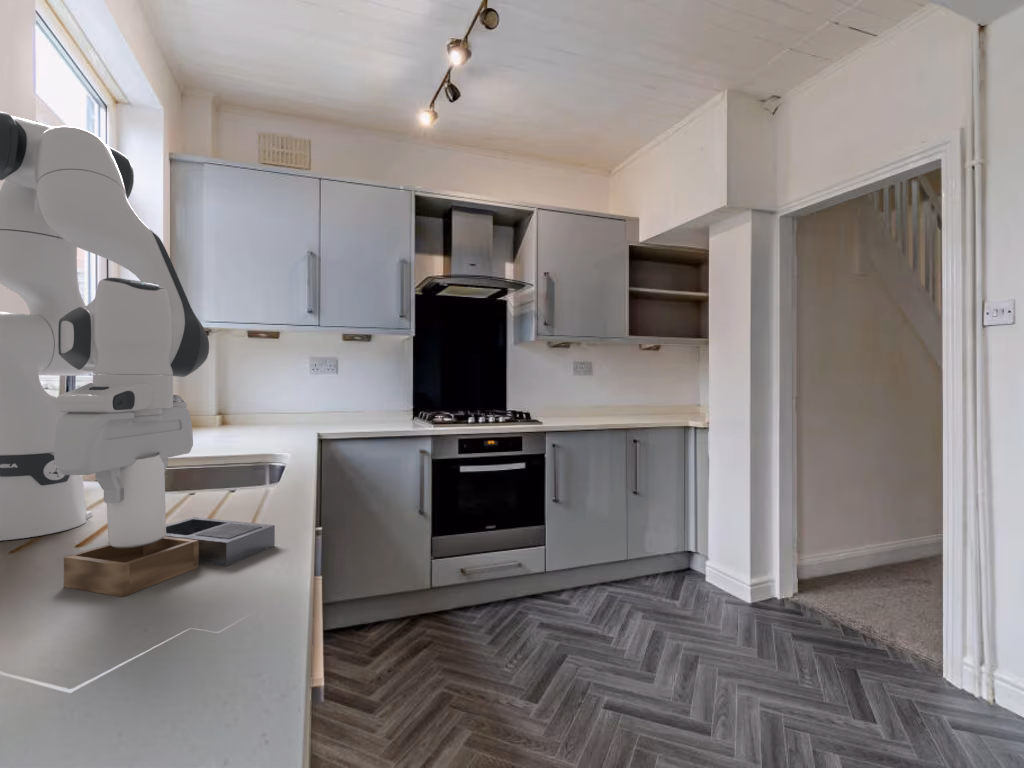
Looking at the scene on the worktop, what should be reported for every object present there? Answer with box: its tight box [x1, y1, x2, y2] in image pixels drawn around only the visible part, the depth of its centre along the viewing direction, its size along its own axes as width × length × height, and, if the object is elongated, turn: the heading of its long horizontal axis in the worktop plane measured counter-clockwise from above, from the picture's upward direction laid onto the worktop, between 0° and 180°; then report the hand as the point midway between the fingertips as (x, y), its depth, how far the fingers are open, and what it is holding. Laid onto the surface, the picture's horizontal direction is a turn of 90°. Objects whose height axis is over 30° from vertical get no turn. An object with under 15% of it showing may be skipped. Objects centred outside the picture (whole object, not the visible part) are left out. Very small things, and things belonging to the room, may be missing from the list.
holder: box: [63, 536, 200, 598], centre depth 69 cm, size 11×11×4 cm
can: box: [106, 453, 167, 548], centre depth 70 cm, size 6×6×12 cm
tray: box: [165, 516, 276, 568], centre depth 80 cm, size 17×9×4 cm, turn 73°
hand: (134, 496), depth 69 cm, fingers closed on can, 5 cm apart
